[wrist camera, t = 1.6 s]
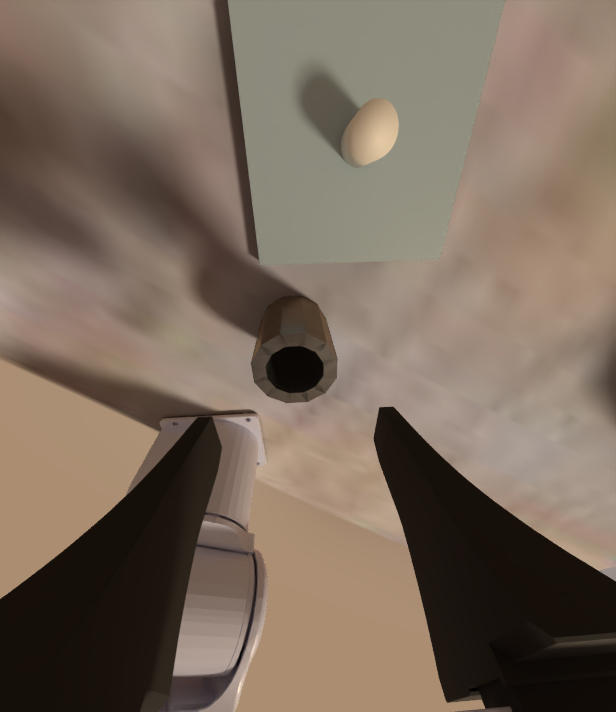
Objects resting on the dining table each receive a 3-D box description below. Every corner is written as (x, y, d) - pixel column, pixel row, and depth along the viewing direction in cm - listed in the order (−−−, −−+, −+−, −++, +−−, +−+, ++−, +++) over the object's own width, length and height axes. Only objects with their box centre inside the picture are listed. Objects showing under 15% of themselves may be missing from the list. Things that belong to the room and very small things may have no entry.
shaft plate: (261, 262, 17) (253, 278, 14) (226, -33, 11) (196, -144, 7) (432, 256, 17) (466, 269, 14) (500, -31, 11) (593, -133, 8)
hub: (266, 355, 21) (258, 404, 16) (258, 297, 18) (245, 335, 13) (325, 352, 21) (335, 400, 16) (326, 294, 18) (339, 331, 13)
